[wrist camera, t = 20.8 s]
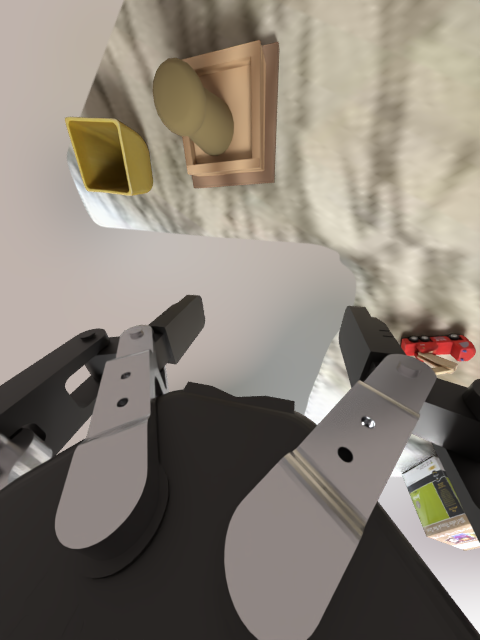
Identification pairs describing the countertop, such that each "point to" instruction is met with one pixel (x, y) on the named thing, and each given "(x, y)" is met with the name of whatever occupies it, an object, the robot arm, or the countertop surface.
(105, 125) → the flower pot
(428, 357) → the toy fire truck
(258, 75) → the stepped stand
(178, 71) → the cork
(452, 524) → the tea box
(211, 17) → the countertop surface
